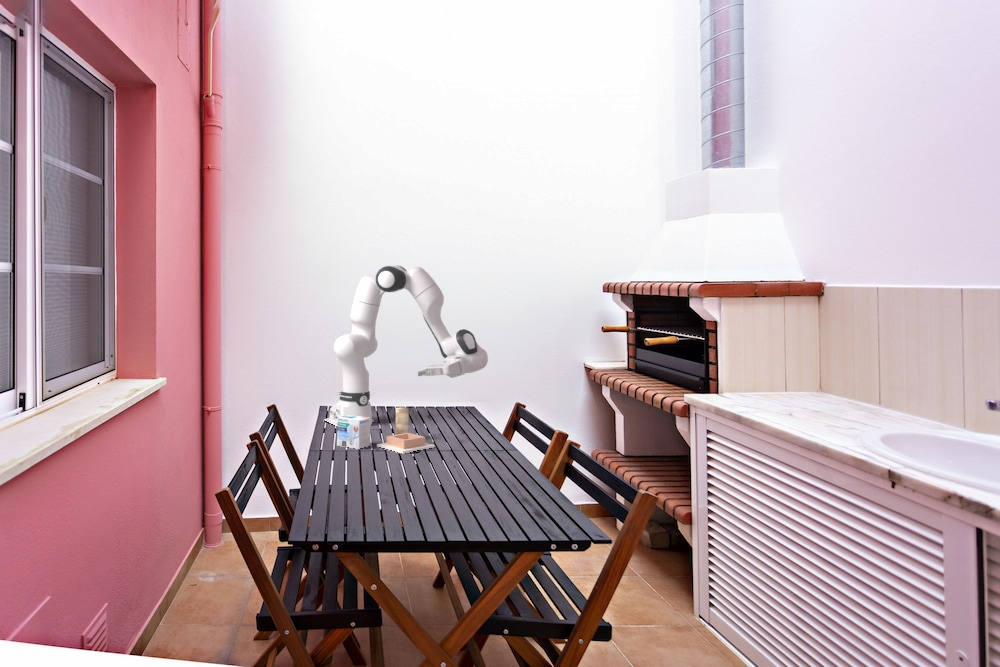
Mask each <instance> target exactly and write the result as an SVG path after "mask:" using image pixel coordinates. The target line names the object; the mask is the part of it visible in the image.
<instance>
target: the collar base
mask: <svg viewBox="0 0 1000 667" xmlns="http://www.w3.org/2000/svg"><path fill="white" fill-rule="evenodd" d="M379 447H381V448H380V449H382V448H385V449H384V450H386V449H388V450H387V451H390V450H392V451H391V452H393V451H395V452H394V453H397V452H398V453H399V454H401V453H402V455H405V453H406V454H411V453H414V452H413V451H416V452H418V451H417V450H421V451H424V450H423V449H426V450H430V449H429V448H432V449H435V448H436V446H435V444H431V443H429V442H426V436H423V435H418V434H415V433H411V432H409V433H404V434H398V435H395V434H393V435H387V436H386V442H382V443H377V444H376V448H379ZM434 447H435V448H434ZM410 452H411V453H410ZM398 453H397V454H398Z"/></svg>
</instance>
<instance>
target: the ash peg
mask: <svg viewBox="0 0 1000 667" xmlns="http://www.w3.org/2000/svg"><path fill="white" fill-rule="evenodd" d="M409 421H410V409H409V407H396V408H395V430H394V431H395V434H394V435H398V434H404V433H410V432H409V425H410V422H409Z"/></svg>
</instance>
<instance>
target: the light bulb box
mask: <svg viewBox="0 0 1000 667" xmlns="http://www.w3.org/2000/svg"><path fill="white" fill-rule="evenodd" d="M371 426H372V425H371V418H368V417H361V416H353V415H346V416H342V417H338V422H337V427H336V428H337V430H336V432H337V433H336V436H337V437H336V446H337V447H342V448H347V447H349V448H348V449H353V448H355V449H354V450H358V449H359V450H361V449H360V448H363V449H365V448H364V447H366V448H369V447H368V446H370V447H371V428H372V427H371Z"/></svg>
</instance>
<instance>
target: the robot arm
mask: <svg viewBox="0 0 1000 667" xmlns="http://www.w3.org/2000/svg"><path fill="white" fill-rule="evenodd" d="M403 289H404V290H406V291H408V292H409V293H410V294H411V295H412V297H413V298H414V300H415V301H416V303H417V305H418V307H419V309H420V310H421V313H422V316H423V320H424V321H425V323H426V325H427V327H428V328H429V330H430V332H431V334H432V336H433V337H434V339H435V341H436V343H437V344H438V347H439V350H440V354H441V356H442V357H443V358H444V360H443V361H442V362H441V363H436V364H432V365H428V366H423V367H422V368H421V370H420V371H417V372H416V373H417V374H416V375H417V377H423V376H424V377H429V376H430V377H431V376H444V375H445V376H447V377H449V378H452V379H453V378H457V377H460V376H464V375H466V374H471V373H475V372H478V371H480V370H483V369H484V368H485V367H486V366H487V364H488V362H489V355H488V353H487V350H485V349H484V348H482V347H481V346H480V344H479V343H478V342H477V340H476V338H475V335H474V334H473V333H472V332H471V331H470V330H468V329H464V328H463V329H459V330H458V331H456V332H455V333H454V334H452V335H451V334H450V333H449V331H448V329H447V327H446V325H445V324H444V322H443V320H442V317H441V314H442V308H443V306H444V303H445V302H444V301H445V296H444V294H443V292H442V289H441V288H440V286H439V285H438V284H437V283H436V281H435V279H433V277H432V276H431V275H430V274H429V273H428V272H427V271H426V270H425V269H424V268H423V267H420V266H415V267H412V268H410V269H409V270H407V269H406V268H404V267H403V266H402V265H395V264H390V265H385V266H383V267H381V268H380V269H379V270H378V271H377V272H376V275H375V276H374V275H365V276H363V277H361V279H360V281H359V282H358V285H357V287H356V290H355V292H354V297H353V301H352V305H351V308H350V312H349V319H350V321H351V332H349V333H345V334H343V335H340V336H339V337H338V338H337V339H335V341H334V343H333V352H334V354H335V356H337V358H338V360H339V365H340V368H341V381H342V382H341V386H342V387H341V388H342V389H341V391H339V392H338V396H339V400H338V401H337V402H336V403H334V405H332V406H331V407H330V409H329V416H328V417H327V418H324V419H323V421H324V420H325V421H327V422H329V423H331V424H333V425H335V426H334V427H336V426H337V422H338V417H342V416H346V415H353V416H361V417H368V418H371V426H372V425H373V423H374V421H375V420H374V419H373V416H372V415H373V414H372V413H373V412H372V405H371V402H370V398H371V397H370V396H371V391H370V388H369V387H370V384H369V383H370V373H369V371H368V370H367V367H366V364H365V360H364V358H368V357H369V356H371V355H372V354H375V352H376V350H377V349H378V341H377V338H376V324H377V318H378V316H379V315H378V314H379V309H380V306H381V302H382V298H383V296H384V294H385V293H396V292H399V291H401V290H403ZM372 422H373V423H372ZM331 424H330V425H331ZM333 425H332V426H333Z"/></svg>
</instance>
